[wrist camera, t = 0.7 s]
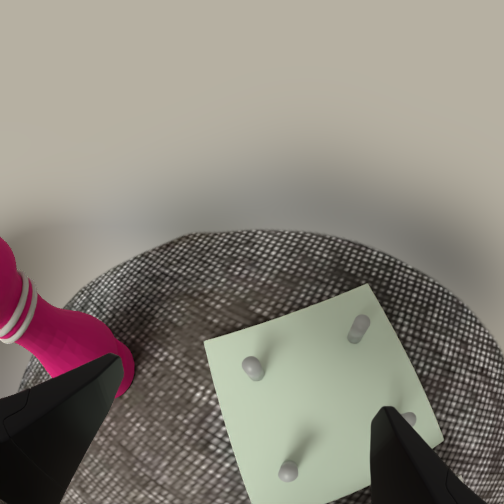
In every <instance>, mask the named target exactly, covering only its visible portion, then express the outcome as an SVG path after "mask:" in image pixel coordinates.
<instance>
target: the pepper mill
mask: <svg viewBox="0 0 504 504" xmlns="http://www.w3.org/2000/svg"><path fill="white" fill-rule="evenodd" d="M0 340H1V341H2V342H4V343H6V344H11V343H13V342H15V343H17V344H19V345H21V346H23V347H24V348H26V349H27V350H28V351H30V352H31V353H33V354H34V355H35V356H36V357H37V358H38V359H39V361H40V362H41V363H42V365H43V366H44V367H45V369H46V370H47V372H48V373H49V374H50V375H51V377H52V378H54V377H57V376H59V375H61V374H63V373H66V372H68V371H70V370H72V369H75V368H77V367H79V366H81V365H83V364H86V363H88V362H90V361H92V360H94V359H96V358H99V357H101V356H103V355H105V354H107V353H114V354H116V355H119V356H120V357H121V359H122V364H123V369H124V377H123V380H122V382H121V384H120V386H119V389H118V391H117V393H116V396H115V398H117V397H119V396H121V395H122V394H124V393H125V391H126V390H127V389H128V388H129V386H130V384H131V382H132V380H133V376H134V360H133V356H132V354H131V352H130V350H129V349H128V348H127V346H126V345H124V344H123V343H122V342H120V341H119V340H117V339H116V338H115V337H114V336H113V334H112V332H111V330H110V329H109V328H108V327H107V326H106V324H104V323H103V322H102V321H100V320H98V319H97V318H95V317H93V316H91V315H89V314H85V313H82V312H79V311H72V310H65V309H60V308H56V307H54V306H52V305H50V304H49V303H47V302H46V301H45V300H44V299H42V298H41V296H40V295H39V294H38V293H37V287H36V284H35V282H34V281H33V280H32V279H30V278H28V277H27V275H26V273H25V272H24V271H22V270H17V268H16V262H15V257H14V255H13V252H12V250H11V248H10V247H9V245H8V244H7V243H6V242H5V241H4V240H3V239H2V238H1V237H0Z"/></svg>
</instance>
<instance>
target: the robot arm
mask: <svg viewBox="0 0 504 504" xmlns="http://www.w3.org/2000/svg"><path fill="white" fill-rule="evenodd" d="M123 377H124V369H123V364H122V359H121V357H120V356H119V355H116V354H114V353H107V354H105V355H103V356H101V357H99V358H96V359H94V360H92V361H90V362H88V363H86V364H83V365H81V366H79V367H77V368H75V369H72V370H70V371H68V372H66V373H63V374H61V375H59V376H57V377H54V378H52V379H50V380H47V381H45V382H43V383H40V384H38V385H36V386H33V387H31V389H30V388H29V389H26V390H24V391H21V392H19V393H16V394H14V395H11V396H8V397H5V398H1V399H0V504H60V502H61V500H62V498H63V496H64V494H65V492H66V490H67V488H68V486H69V484H70V482H71V480H72V478H73V476H74V474H75V472H76V470H77V468H78V466H79V464H80V462H81V461H82V459H83V457H84V455H85V453H86V451H87V449H88V448H89V446H90V444H91V442H92V440H93V438H94V437H95V435H96V433H97V431H98V430H99V428H100V426H101V424H102V422H103V421H104V419H105V417H106V415H107V414H108V412H109V410H110V407H111V405H112V403H113V400H114V398H115V396H116V393H117V391H118V389H119V386H120V384H121V382H122V380H123ZM370 477H371V504H488V503H486V502H485V501H484V500H482V499H481V498H480V497H479V496H478V495H477V494H475V493H474V492H473V491H472V490H471V489H470V488H468V487H467V486H466V485H465V484H464V483H463V482H462V481H461V480H460V479H459V478H458V477H457V476H456V475H455V474H454V473H453V472H452V470H451V469H450V468H448V466H447V465H446V464H445V463H444V462H443V461H442V459H441V458H440V457H439V456H438V455H437V454H436V453H435V452H434V451H433V449H432V448H431V447H430V446H429V445H428V444H427V443H426V442H425V441H424V439H423V438H422V437H421V436H420V435H419V434H418V433H417V432H416V431H415V429H414V428H413V427H412V426H411V425H410V424H409V423H408V422H407V421H406V420H405V418H404V417H403V416H402V415H401V414H400V413H399V412H398V411H397V410H396V408H395V407H393V406H383V407H381V408H380V410H379V411H378V412H377V414H376V415H375V417H374V418H373V419H372V421H371V434H370Z"/></svg>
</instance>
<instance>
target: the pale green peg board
mask: <svg viewBox="0 0 504 504" xmlns="http://www.w3.org/2000/svg"><path fill="white" fill-rule="evenodd" d="M204 345H205V349H206V353H207V358H208V362H209V366H210V370H211V374H212V378H213V382H214V386H215V389H216V393H217V397H218V401H219V404H220V408H221V411H222V415H223V418H224V422H225V425H226V429H227V432H228V435H229V438H230V442H231V445H232V448H233V451H234V454H235V457H236V460H237V463H238V466H239V469H240V472H241V475H242V478H243V481H244V484H245V487H246V489H247V492H248V495H249V497H250V500H251V503H252V504H326V503H328V502H331V501H334V500H336V499H339V498H342V497H344V496H346V495H349V494H351V493H354V492H356V491H358V490H360V489H363V488H365V487H367V486H369V485H371V477H370V434H371V421H372V419H373V418H374V417H375V415H376V414H377V412H378V411H379V410H380V408H381V407H383V406H393V407H395V408H396V410H397V411H398V412H399V413H400V414H401V415H402V416H403V417H404V418H405V420H406V421H407V422H408V423H409V424H410V425H411V426H412V427H413V428H414V429H415V431H416V432H417V433H418V434H419V435H420V436H421V437H422V438H423V439H424V441H425V442H426V443H427V444H428V445H429V446H430V447H431V448H432V449H433V448H434V447H435V446H437V445H438V444H440V443H441V442H442V441H444V438H443V435H442V433H441V430H440V428H439V425H438V422H437V420H436V418H435V415H434V413H433V410H432V408H431V406H430V403H429V401H428V399H427V396H426V394H425V392H424V390H423V387H422V385H421V383H420V381H419V379H418V377H417V375H416V372H415V370H414V368H413V366H412V364H411V362H410V360H409V358H408V356H407V354H406V352H405V350H404V348H403V346H402V344H401V342H400V340H399V338H398V337H397V335H396V333H395V331H394V329H393V327H392V325H391V323H390V322H389V320H388V318H387V316H386V314H385V313H384V311H383V309H382V307H381V306H380V304H379V302H378V300H377V299H376V297H375V295H374V293H373V292H372V290H371V288H370V287H369V285H368V283H367V284H365V285H362V286H360V287H358V288H355V289H353V290H350V291H348V292H345V293H343V294H340V295H338V296H335V297H333V298H330V299H328V300H325V301H323V302H320V303H317V304H315V305H312V306H309V307H307V308H304V309H301V310H299V311H296V312H293V313H290V314H287V315H285V316H282V317H279V318H276V319H273V320H270V321H267V322H264V323H261V324H258V325H255V326H252V327H249V328H246V329H243V330H240V331H237V332H233V333H230V334H227V335H223V336H220V337H217V338H213V339H210V340H207V341H204Z"/></svg>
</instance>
